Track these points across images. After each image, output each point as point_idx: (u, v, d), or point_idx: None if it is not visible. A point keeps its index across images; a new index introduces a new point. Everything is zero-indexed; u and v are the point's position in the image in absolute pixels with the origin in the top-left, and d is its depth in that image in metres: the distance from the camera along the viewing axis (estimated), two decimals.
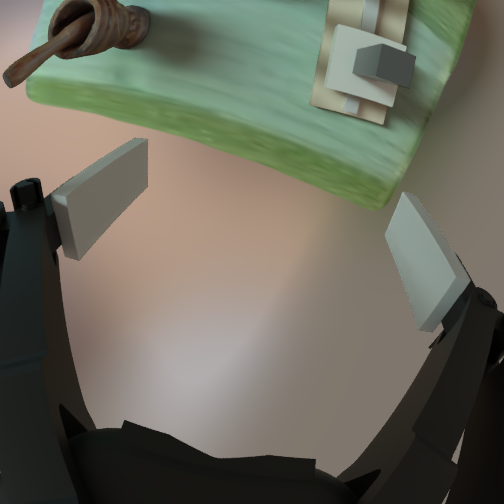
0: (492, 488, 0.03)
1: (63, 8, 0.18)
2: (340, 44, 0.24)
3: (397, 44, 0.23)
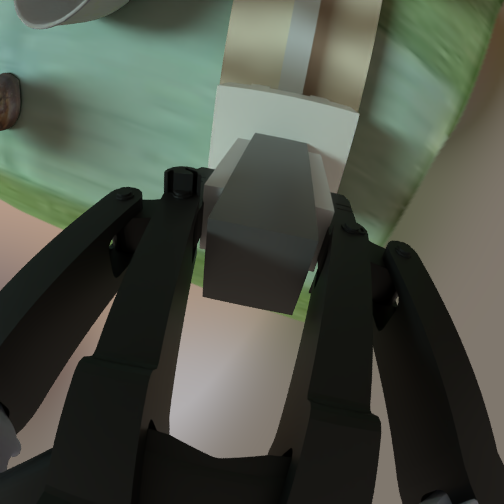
0: (441, 454, 0.04)
1: None
2: (223, 126, 0.16)
3: (340, 112, 0.14)
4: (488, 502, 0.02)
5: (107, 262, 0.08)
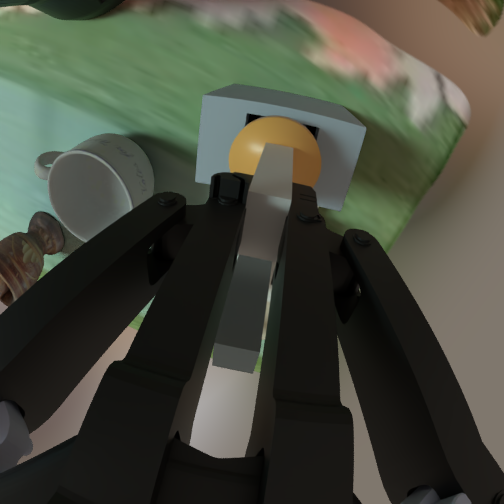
0: (421, 450, 0.04)
1: None
2: None
3: None
4: (478, 493, 0.03)
5: (144, 270, 0.08)
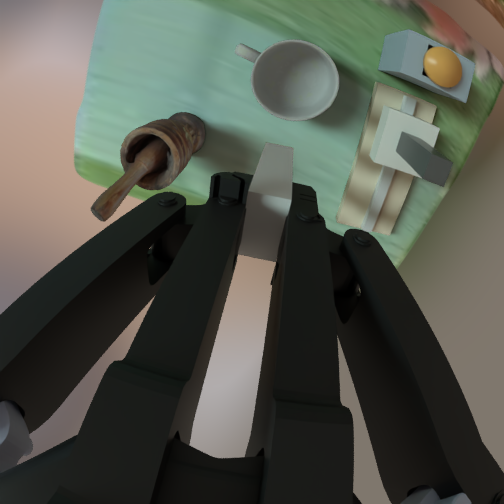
0: (421, 450, 0.04)
1: (135, 136, 0.32)
2: (389, 126, 0.33)
3: (433, 126, 0.31)
4: (478, 493, 0.03)
5: (144, 270, 0.08)
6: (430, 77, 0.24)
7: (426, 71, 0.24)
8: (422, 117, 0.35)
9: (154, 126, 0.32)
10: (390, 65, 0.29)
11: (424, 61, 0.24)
